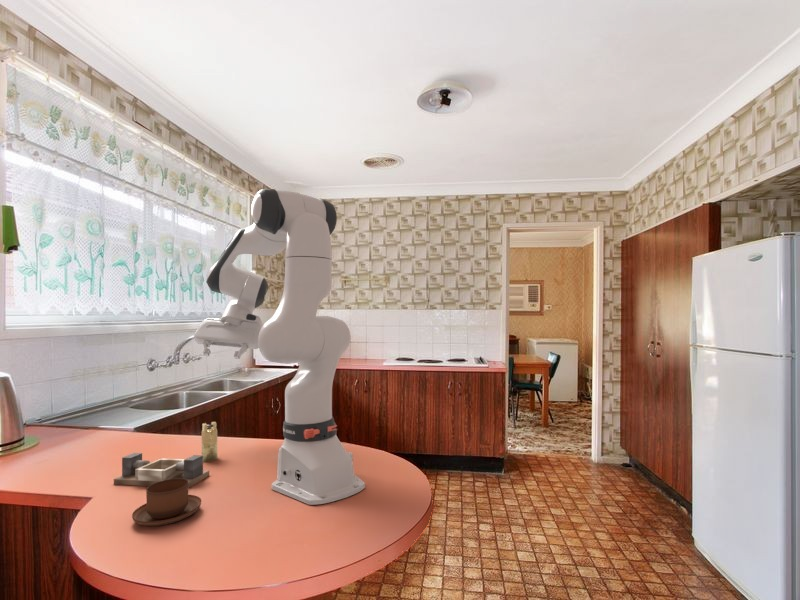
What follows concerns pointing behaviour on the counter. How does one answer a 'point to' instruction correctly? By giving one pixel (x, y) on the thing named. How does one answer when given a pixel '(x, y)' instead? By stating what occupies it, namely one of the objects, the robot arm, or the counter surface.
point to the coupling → (209, 442)
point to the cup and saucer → (166, 503)
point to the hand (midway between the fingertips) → (221, 356)
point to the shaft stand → (160, 470)
